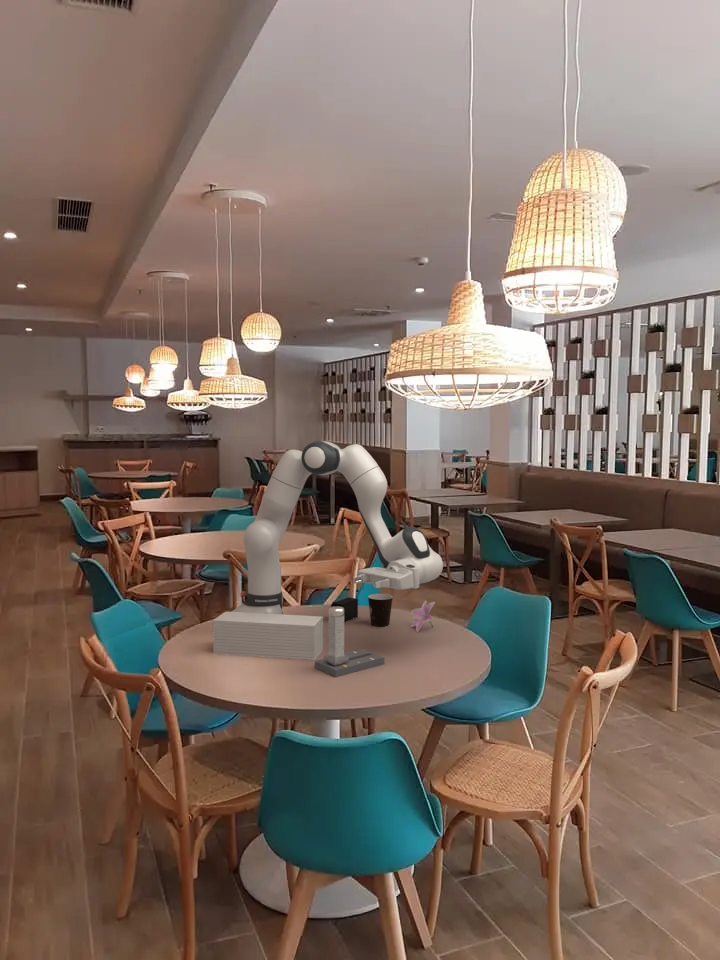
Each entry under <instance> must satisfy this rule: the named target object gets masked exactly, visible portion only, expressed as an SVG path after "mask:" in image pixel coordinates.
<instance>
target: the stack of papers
mask: <svg viewBox="0 0 720 960" xmlns="http://www.w3.org/2000/svg"><path fill="white" fill-rule="evenodd" d="M212 626H213V628H212V630H213V631H212V632H213V633H212V637H213V638H212V639H213V641H212V642H213V646H212V647H213V653H215V654H214V655H225V654H227V655H229V656H240V655H244V656H243V657H256V656H265V657H264V658H271V657H275V658H276V659H287V658H291V659H292V660H302V659H308V660H307V661H316V659H317V658H318V657H319V655H320V654H321V653H322V652H323V650H324V616H320V615H318V616H317V615H315V616H314V615H301V614H300V615H298V614H283V613H282V614H264V613H245V612H232V611H225V612H223V613H221V614H220V615H219V616H216V618H214V619H213V620H212ZM317 656H318V657H317ZM291 659H290V660H291Z"/></svg>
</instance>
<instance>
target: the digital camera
mask: <svg viewBox="0 0 720 960" xmlns="http://www.w3.org/2000/svg"><path fill="white" fill-rule="evenodd" d="M335 606H338V607H343V608H344V622H345V623H347V622H346V621H348V620H350V621H352V620H354V619H356V618H355V617H357V618H358V617H359V614H358V613H359V599H358V598H354V597H349V596H348V597H346V598H343V599H340V600H337V601H332V602H331V605H330V607H335ZM353 618H354V619H353ZM351 619H352V620H351ZM348 622H349V621H348Z"/></svg>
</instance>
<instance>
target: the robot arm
mask: <svg viewBox="0 0 720 960" xmlns="http://www.w3.org/2000/svg"><path fill="white" fill-rule="evenodd" d="M336 473H341V474H342V475H343V476H344V478H345V479H346V481H347V482H348V483H349V485H350V487H351V488H352V491H353V492H354V495H355V498H356V500H357V507H358V512H359V515H360V517H361V519H362V521H363V523H364V525H365V527H366V529H367V531H368V534H369V535H370V537H371V539H372V541H373V543H374V546H375V548H376V552H377V556H378V559H379V561H380V562H381V564H382V566H384V567H380V566H379V567H378V566H377V567H375V566H373V567H368V568H361V569H359V570H357V576H355V577H354V578H352V579H353V584H355V585H356V584H357V585H358V584H362V583H364V584H369V585H373V586H372V587H373V588H375V589H380V588H388V589H393V590H397V591H402V590H403V591H404V590H409V589H412V590H417V589H419V588H420V585H422V584H424V583H429V582H431V581H433V580H435V579H437V578H439V576H440V575H441V574H442V572H443V570H444V569H443V568H444V562H443V559H442V557H441V555H440V554H438V553H437V552H436V551H434V550H433V549H432V548H431V547H430V545H429V544H428V543H429V542H428V540H427V537H426V535H425V533H424V532H423V531H422V530H421V529H419V528H418V527H415V526H411V525H410V526H406V527H405V528H403V529H402V530H401V531H399V532H398V533H396V534H395V535H394V536H392V535H391V533H390V531H389V529H388V527H387V525H386V523H385V521H384V519H383V517H382V513H381V512H382V511H381V508H382V503H383V501H384V499H385V496H386V494H387V491H388V480H387V478H386V475H385V474H384V471H383V470H382V469H381V467H380V466H379V465H378V463H377V461H376V460H375V459H374V458H373V456H372V455H371V454H370V453H369V452H368V451H367V450H366V449H365V447H363V446H362V445H360V444H357V443H355V444H349V445H347V446H346V447H345V448H342V447H341V446H339V445H338V444H337V443H334V442H331V441H326V440H321V441H319V440H318V441H317V440H315V441H312V442H310V443H308V444H307V445H306V446H305V447H304V448H303V450H302V451H301V450H298V449H289V450H286V451H285V452H284V453H283V455H282V456H281V458H280V459H279V461H278V463H277V465H276V466H275V468H274V470H273V472H272V473H271V474H272V475H271V476H270V479H269V481H268V483H267V486H266V488H265V491H264V493H263V495H262V498H261V502H260V505H259V508H258V511H257V514H256V516H255V518H254V521H253V522H252V523H250V524H249V525H248V526H247V527H246V528H245V530H244V534H243V544H244V551H245V560H246V565H247V591H244V590H243V591H241V592H240V594H239V595H240V598H241V604H240V605H238V606H237V607H236V608H235V609H233V610H232V611H231V612H245V613H264V614H283V605H284V604H283V603H284V595H283V591H282V567H281V563H280V561H281V560H280V554H279V545H280V543H281V542H282V541H283V537H284V536H285V533H286V530H287V528H288V525H289V522H290V520H291V517H292V514H293V512H294V509H295V506H296V505H297V502H298V500H299V498H300V495H301V493H302V491H303V489H304V486H305V484H306V481H307V479H308V478H309V476H311V475H312V474H313V475H318V476H327V475H333V474H334V475H335V474H336Z"/></svg>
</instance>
